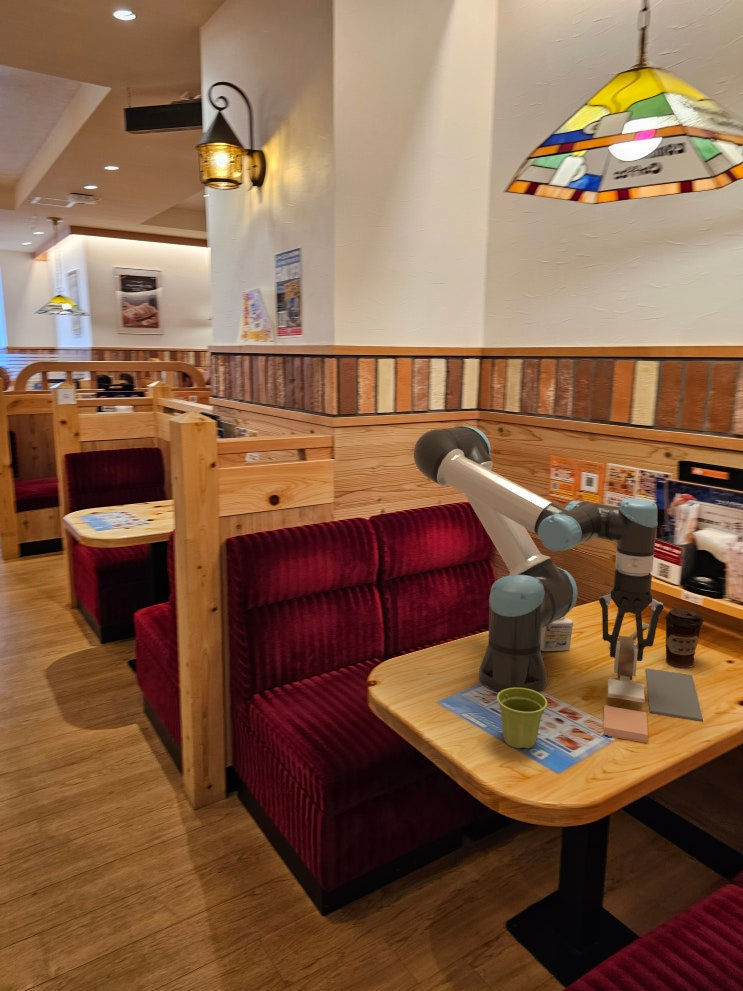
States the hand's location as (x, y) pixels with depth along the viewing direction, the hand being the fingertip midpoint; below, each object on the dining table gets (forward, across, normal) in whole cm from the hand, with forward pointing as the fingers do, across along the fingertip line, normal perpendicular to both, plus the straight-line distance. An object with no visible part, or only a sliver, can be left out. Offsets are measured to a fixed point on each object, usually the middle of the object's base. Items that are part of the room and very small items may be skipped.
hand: (624, 671), depth 149 cm
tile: (+3, 0, -13) cm, 13 cm away
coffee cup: (+4, +13, +18) cm, 23 cm away
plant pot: (+4, -19, -29) cm, 35 cm away
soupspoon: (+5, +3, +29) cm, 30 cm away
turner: (0, 0, -3) cm, 3 cm away
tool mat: (+4, +10, +1) cm, 11 cm away
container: (+4, -18, +18) cm, 25 cm away
